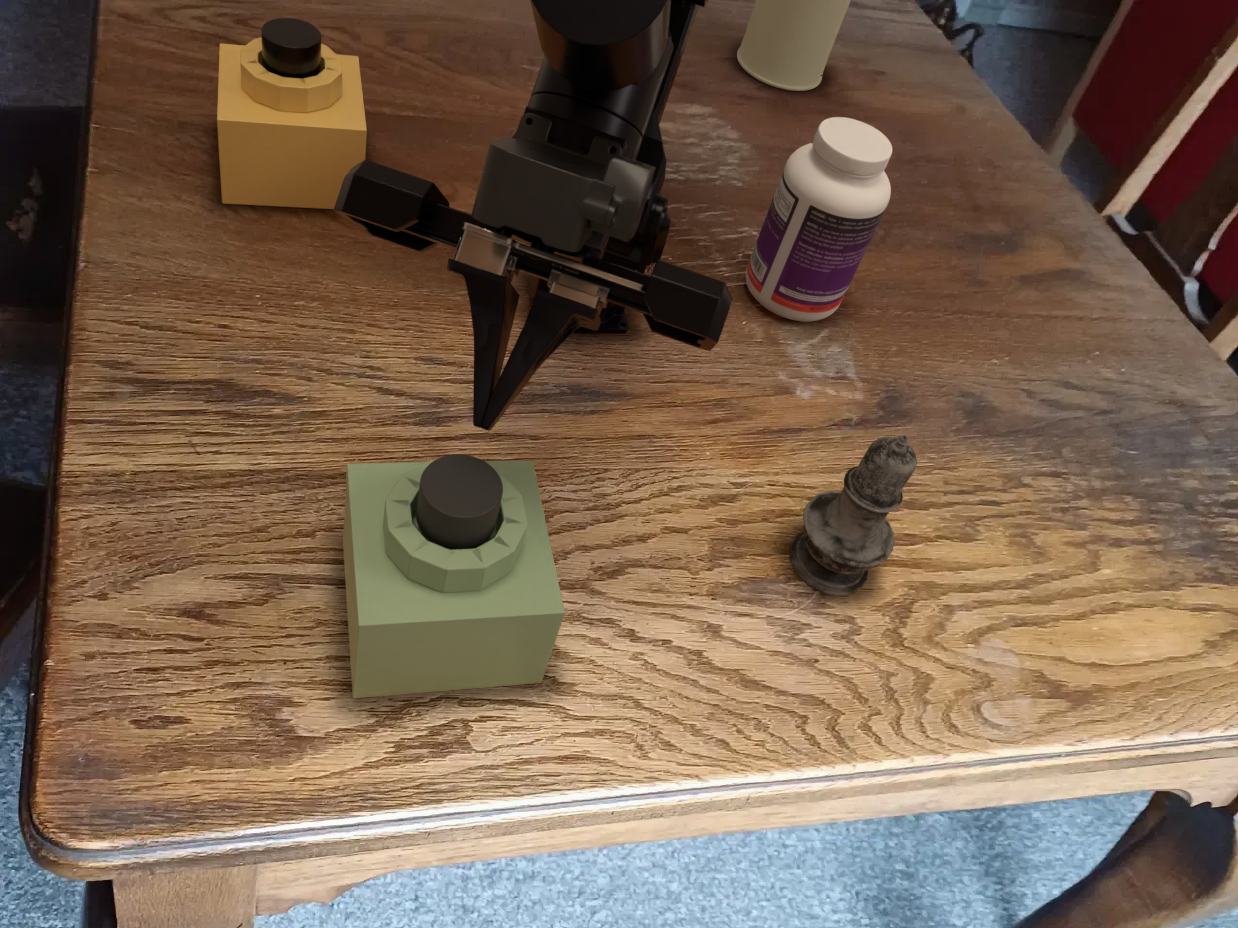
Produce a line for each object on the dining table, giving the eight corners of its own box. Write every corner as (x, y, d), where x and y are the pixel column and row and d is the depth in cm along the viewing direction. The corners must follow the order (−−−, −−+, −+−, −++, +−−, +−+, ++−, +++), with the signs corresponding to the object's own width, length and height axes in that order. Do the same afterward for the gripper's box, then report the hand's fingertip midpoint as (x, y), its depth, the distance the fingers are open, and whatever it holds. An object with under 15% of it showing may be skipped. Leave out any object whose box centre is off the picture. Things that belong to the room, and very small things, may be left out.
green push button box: (514, 535, 65) (538, 435, 58) (541, 683, 59) (572, 590, 52) (342, 542, 62) (348, 437, 55) (352, 698, 56) (360, 601, 49)
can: (725, 40, 113) (761, -75, 105) (803, 47, 116) (844, -64, 108) (752, 88, 108) (792, -30, 99) (833, 94, 111) (879, -19, 102)
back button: (319, 54, 79) (320, 21, 77) (321, 83, 76) (322, 50, 74) (262, 48, 78) (261, 15, 76) (262, 78, 75) (261, 44, 73)
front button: (490, 485, 56) (497, 453, 54) (501, 547, 53) (508, 516, 51) (412, 487, 54) (416, 454, 53) (419, 551, 52) (424, 519, 50)
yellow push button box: (354, 135, 88) (359, 31, 81) (362, 211, 82) (368, 105, 75) (224, 126, 85) (218, 17, 78) (222, 203, 79) (215, 93, 72)
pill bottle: (855, 304, 88) (931, 152, 77) (799, 342, 83) (872, 185, 72) (779, 249, 90) (843, 96, 80) (721, 283, 86) (780, 124, 75)
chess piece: (870, 611, 67) (956, 489, 58) (780, 583, 67) (853, 457, 58) (873, 539, 71) (954, 416, 62) (788, 514, 71) (857, 386, 62)
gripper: (360, -13, 44) (238, 352, 44) (795, 136, 44) (670, 500, 44) (415, 79, 55) (318, 370, 55) (762, 198, 55) (662, 488, 55)
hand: (481, 428), depth 52 cm, fingers closed
